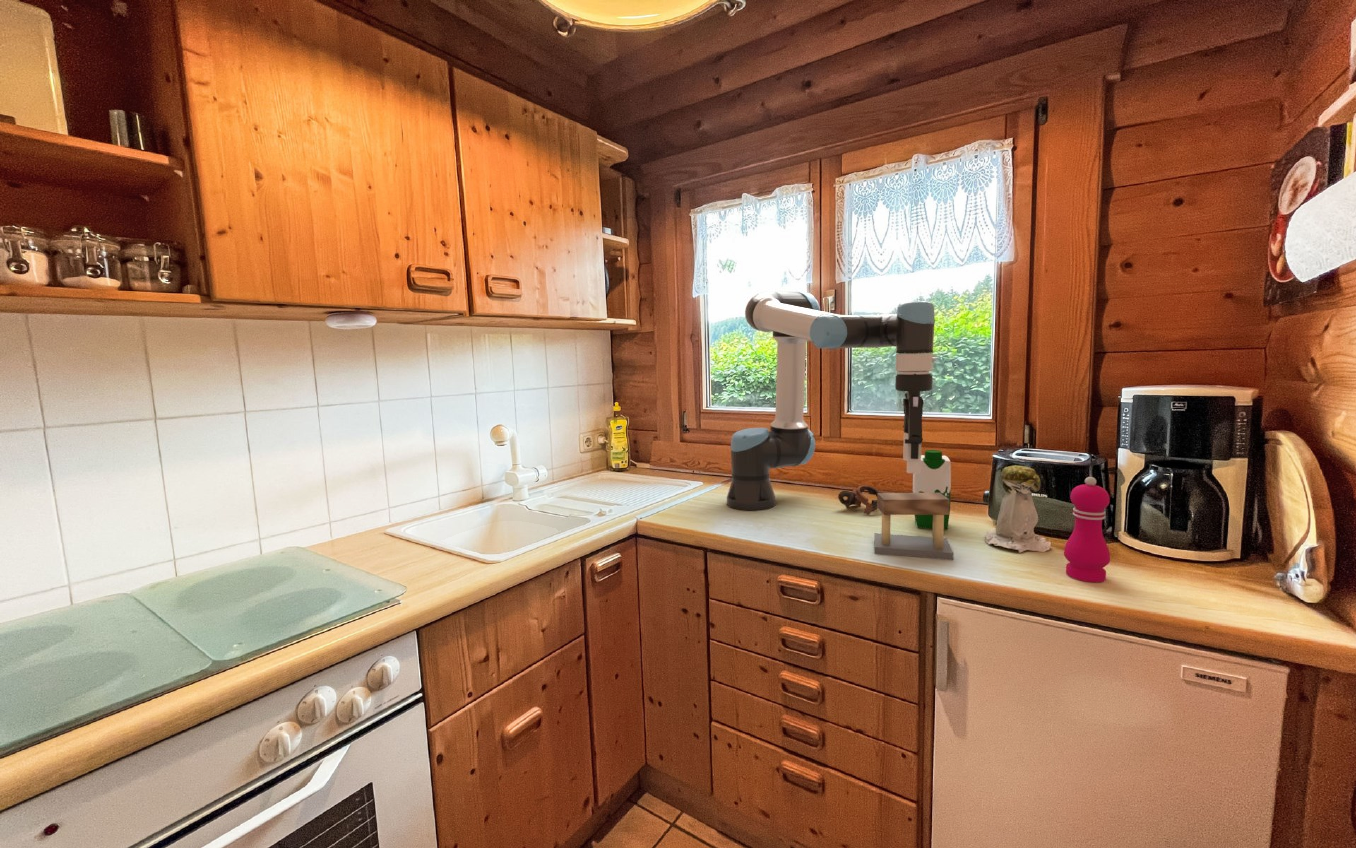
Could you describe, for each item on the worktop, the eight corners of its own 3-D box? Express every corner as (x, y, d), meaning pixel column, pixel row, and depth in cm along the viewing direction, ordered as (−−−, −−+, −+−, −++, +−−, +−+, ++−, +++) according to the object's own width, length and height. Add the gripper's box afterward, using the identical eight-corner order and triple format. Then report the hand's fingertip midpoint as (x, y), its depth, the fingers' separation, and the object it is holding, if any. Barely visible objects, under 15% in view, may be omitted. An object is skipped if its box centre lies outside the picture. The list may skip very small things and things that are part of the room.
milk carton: (914, 529, 136) (915, 452, 134) (911, 518, 145) (912, 446, 142) (952, 531, 133) (954, 453, 131) (946, 520, 142) (948, 447, 140)
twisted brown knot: (867, 505, 161) (879, 485, 156) (876, 527, 153) (889, 507, 148) (830, 498, 160) (841, 477, 155) (837, 520, 152) (848, 498, 147)
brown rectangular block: (939, 507, 124) (939, 492, 123) (949, 514, 118) (949, 499, 117) (877, 507, 125) (877, 493, 125) (883, 514, 119) (883, 499, 119)
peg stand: (874, 553, 121) (874, 515, 120) (874, 539, 130) (874, 503, 129) (953, 559, 115) (953, 519, 114) (946, 544, 124) (947, 507, 123)
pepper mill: (1053, 570, 108) (1058, 474, 105) (1086, 568, 108) (1092, 472, 106) (1083, 585, 101) (1089, 482, 98) (1119, 582, 101) (1125, 480, 99)
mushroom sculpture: (973, 537, 129) (975, 462, 127) (1023, 534, 130) (1026, 460, 128) (1006, 554, 117) (1009, 472, 115) (1061, 551, 118) (1065, 469, 116)
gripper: (939, 375, 105) (935, 480, 108) (926, 370, 128) (924, 456, 131) (898, 376, 107) (895, 478, 110) (893, 370, 131) (891, 455, 133)
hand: (911, 466), depth 121 cm, fingers open, 13 cm apart
